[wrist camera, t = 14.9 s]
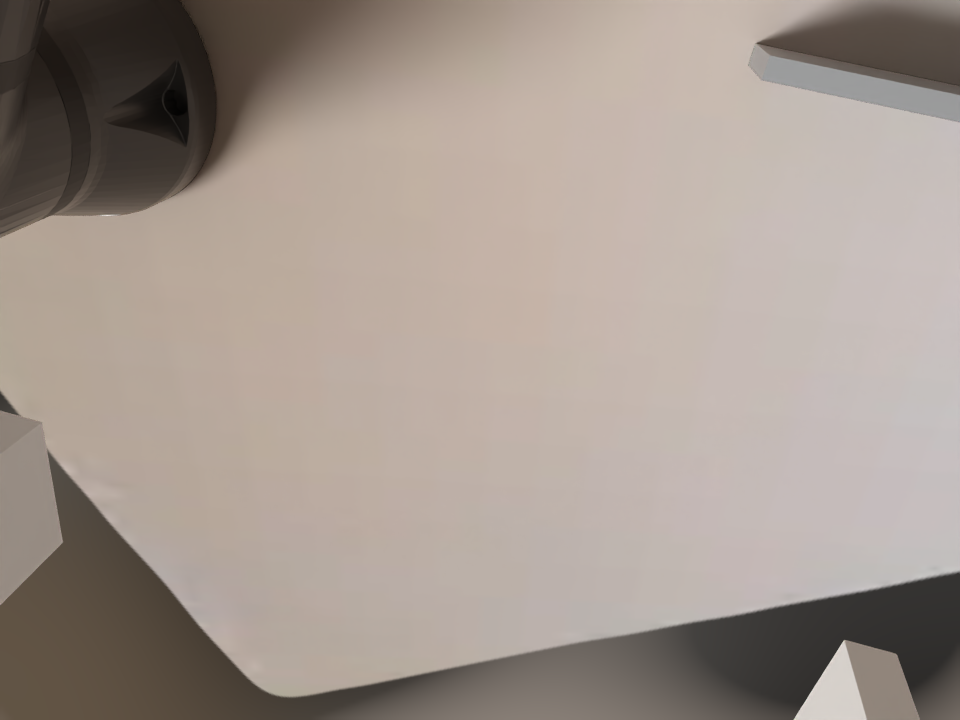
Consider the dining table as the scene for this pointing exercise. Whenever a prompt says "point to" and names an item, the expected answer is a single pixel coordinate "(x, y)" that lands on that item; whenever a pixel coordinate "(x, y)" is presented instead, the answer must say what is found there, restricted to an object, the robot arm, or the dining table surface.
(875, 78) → the acrylic wall
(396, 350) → the dining table surface
